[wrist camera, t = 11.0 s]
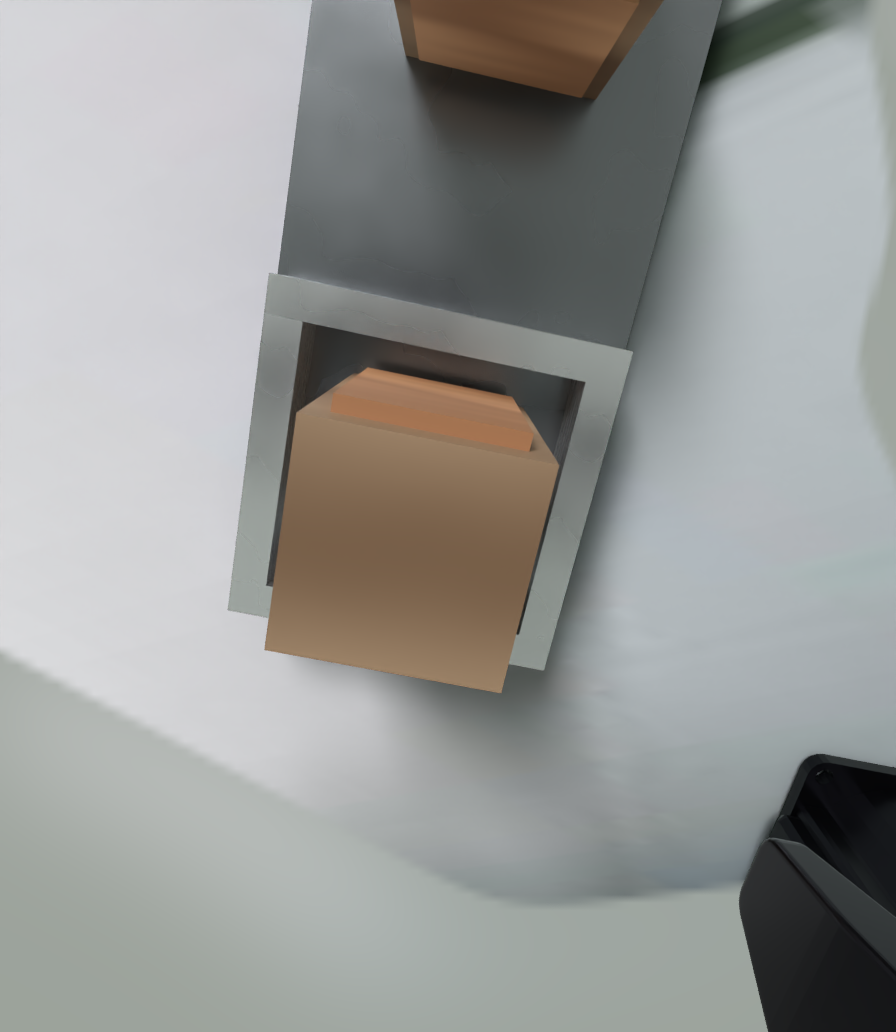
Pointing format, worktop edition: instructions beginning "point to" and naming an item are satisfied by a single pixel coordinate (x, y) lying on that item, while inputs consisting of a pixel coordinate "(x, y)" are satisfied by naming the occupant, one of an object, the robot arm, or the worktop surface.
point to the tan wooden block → (410, 529)
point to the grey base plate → (466, 256)
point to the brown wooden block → (527, 38)
